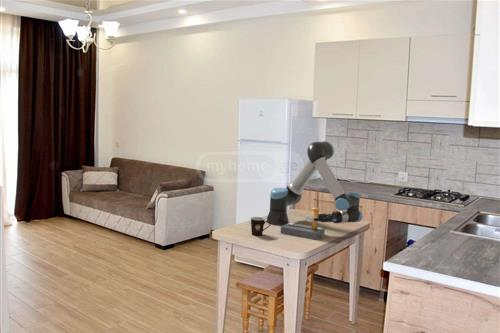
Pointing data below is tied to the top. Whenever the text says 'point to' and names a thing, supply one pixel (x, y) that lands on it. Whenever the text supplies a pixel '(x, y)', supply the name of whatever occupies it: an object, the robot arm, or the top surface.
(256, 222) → the coffee mug
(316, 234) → the switch box
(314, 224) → the switch lever
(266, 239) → the top surface
